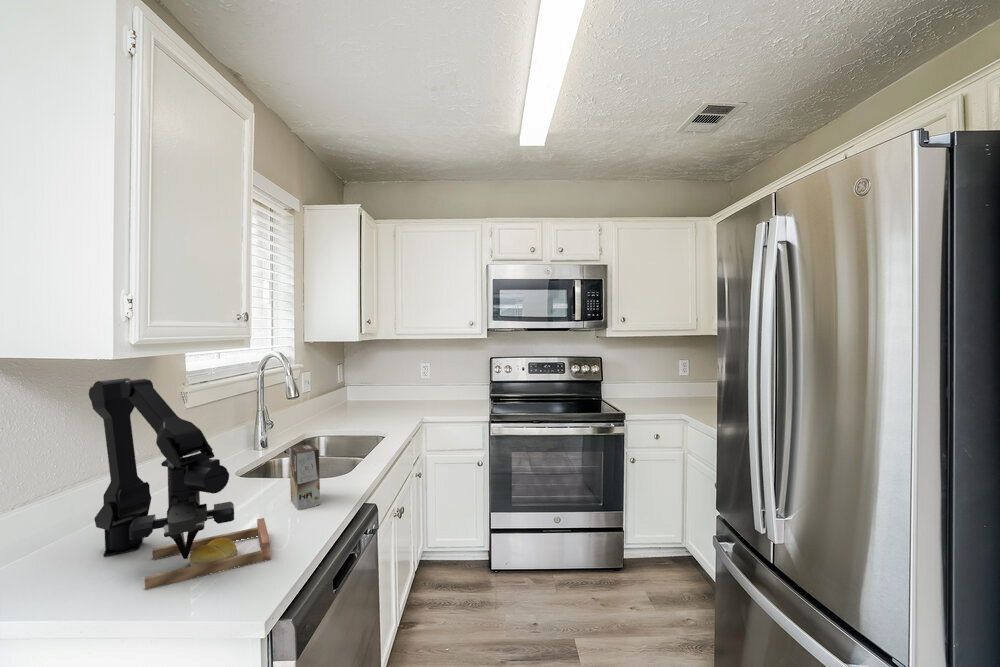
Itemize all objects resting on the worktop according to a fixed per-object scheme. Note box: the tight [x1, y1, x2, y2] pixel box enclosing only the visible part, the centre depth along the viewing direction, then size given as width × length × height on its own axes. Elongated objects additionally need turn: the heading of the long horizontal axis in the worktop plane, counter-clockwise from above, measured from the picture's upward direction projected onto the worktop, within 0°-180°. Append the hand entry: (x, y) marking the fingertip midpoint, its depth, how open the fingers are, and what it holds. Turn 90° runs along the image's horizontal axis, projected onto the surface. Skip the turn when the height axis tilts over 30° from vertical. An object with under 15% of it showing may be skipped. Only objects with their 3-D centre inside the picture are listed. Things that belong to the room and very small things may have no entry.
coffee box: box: [288, 443, 321, 511], centre depth 140 cm, size 9×6×16 cm
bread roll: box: [188, 538, 238, 567], centre depth 107 cm, size 8×9×4 cm
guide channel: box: [144, 517, 271, 590], centre depth 107 cm, size 22×15×4 cm
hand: (185, 558), depth 105 cm, fingers closed
